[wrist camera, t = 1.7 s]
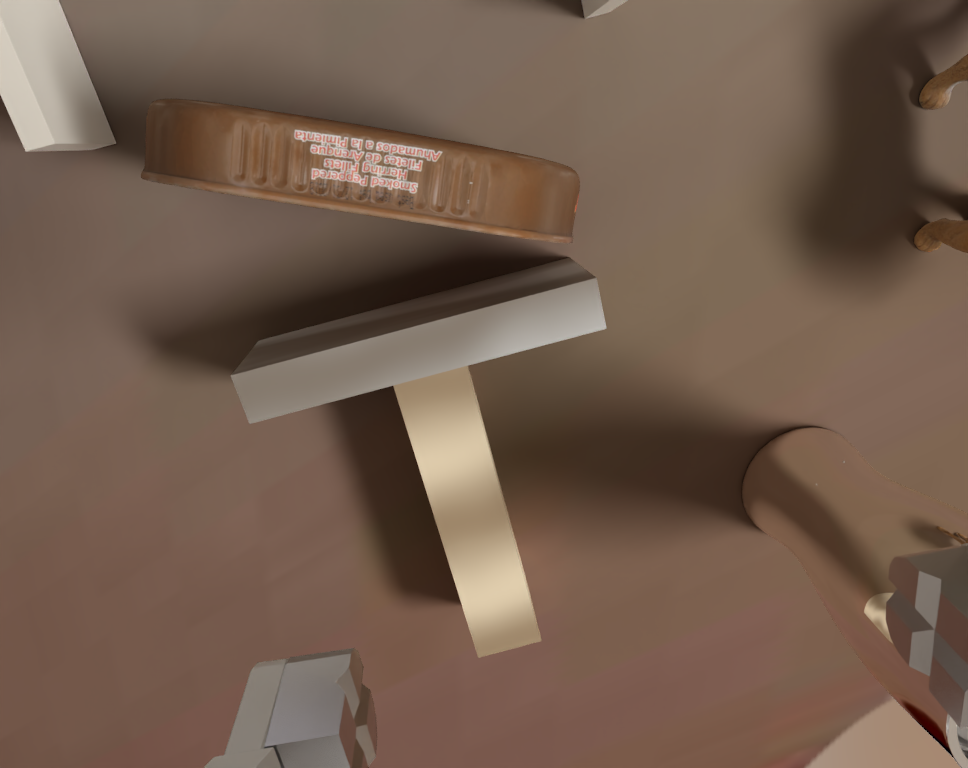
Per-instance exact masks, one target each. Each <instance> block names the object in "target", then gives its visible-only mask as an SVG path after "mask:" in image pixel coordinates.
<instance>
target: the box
mask: <svg viewBox="0 0 968 768" xmlns="http://www.w3.org/2000/svg"><path fill="white" fill-rule="evenodd" d="M581 1H582V7H583V12H584V18H585V19H587V18H590V17H594V16H598V15H602V14H605V13H609V12H611V11H612V10H614V9H615V8H617V7H618V6H620V5H621V4H623V3H624V2H625V1H627V0H581ZM0 95H1V97H2V100H3V102H4V104H5V106H6V109H7V111H8V113H9V115H10V117H11V120H12V122H13V124H14V126H15V129H16V131H17V133H18V135H19V138H20V140H21V142H22V144H23V146H24V149H25V151H71V150H94V149H98V148H101V147H105V146H109V145H113V144H116V141H115V138H114V136H113V133H112V131H111V128H110V126H109V123H108V121H107V119H106V116H105V114H104V111H103V109H102V106H101V104H100V101H99V99H98V96H97V94H96V91H95V89H94V86H93V84H92V81H91V79H90V77H89V74H88V72H87V69H86V67H85V64H84V62H83V59H82V57H81V54H80V52H79V49H78V47H77V44H76V42H75V39H74V37H73V35H72V32H71V30H70V27H69V25H68V22H67V20H66V17H65V15H64V12H63V10H62V7H61V5H60V2H59V0H0Z"/></svg>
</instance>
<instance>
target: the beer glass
mask: <svg viewBox="0 0 968 768" xmlns="http://www.w3.org/2000/svg"><path fill="white" fill-rule="evenodd" d="M742 499H743V504H744V507H745V510H746V512H747V514H748V516H749V518H750V519H751V520H752V522H753V523H754V524H755V525H756V526H757V527H758V528H759V529H760V530H762V531H763V532H764V533H766V534H767V535H769V536H770V537H772V538H773V539H775V540H776V541H778V542H779V543H781V544H782V545H784V546H785V547H786V548H788V549H789V550H790V551H791V552H792V553H793V554H794V556H795V557H796V558H797V559H798V561H799V562H800V564H801V565H802V567H803V569H804V570H805V572H806V573H807V575H808V577H809V579H810V581H811V582H812V584H813V586H814V588H815V590H816V591H817V593H818V595H819V597H820V599H821V600H822V602H823V604H824V606H825V607H826V609H827V611H828V613H829V614H830V616H831V618H832V620H833V621H834V623H835V624H836V626H837V627H838V629H839V631H840V632H841V634H842V635H843V637H844V638H845V640H846V641H847V643H848V644H849V646H850V647H851V649H852V650H853V651H854V653H855V654H856V655H857V656H858V658H859V659H860V660H861V661H862V663H863V664H864V665H865V666H866V668H867V669H868V670H869V671H870V673H871V674H872V675H873V676H874V677H875V679H876V680H877V681H878V682H879V683H880V684H881V685H882V686H883V687H884V688H885V689H886V691H887V692H888V693H889V694H890V695H891V696H892V697H893V698H894V699H895V700H896V701H897V702H898V704H899V705H900V706H901V707H902V708H903V709H904V710H905V711H906V712H907V713H908V714H909V715H910V716H911V717H912V718H913V719H914V720H915V721H916V722H917V723H918V724H919V725H920V726H921V727H922V728H923V729H924V730H925V731H927V732H928V733H929V734H930V735H931V736H932V737H933V738H934V739H935V740H936V741H937V742H938V743H939V744H940V745H941V746H942V747H943V748H944V749H945V750H946V751H947V752H948V753H949V754H950V755H951V756H952V757H953V758H954V759H955V761H956V762H957V763H958V765H959V766H960V767H961V768H968V727H964V728H960V727H959V726H958V725H957V724H956V723H955V721H954V720H953V719H952V718H951V717H950V715H949V714H948V713H947V712H946V711H945V709H944V708H943V707H942V706H941V705H940V703H939V702H938V701H937V700H936V698H935V697H934V696H933V695H932V694H931V692H930V691H929V676H928V675H926V674H924V673H922V672H920V671H918V670H916V669H914V668H912V667H910V666H908V664H907V663H906V662H905V661H904V659H903V658H902V657H901V655H900V654H899V653H898V651H897V649H896V648H895V646H894V644H893V642H892V640H891V638H890V634H889V631H888V627H887V624H886V602H887V601H888V600H889V598H890V597H891V596H892V595H893V593H894V592H895V591H896V590H897V588H896V587H895V585H894V584H893V583H892V582H891V581H890V580H889V579H888V577H889V567H890V564H891V562H892V560H893V558H894V557H895V556H901V555H906V554H912V553H917V552H923V551H929V550H934V549H940V548H946V547H951V546H960V545H961V544H965V543H968V513H966V512H964V511H962V510H960V509H958V508H956V507H953V506H951V505H949V504H946V503H944V502H942V501H939V500H937V499H935V498H932V497H930V496H928V495H925V494H923V493H920V492H918V491H915V490H913V489H911V488H908V487H906V486H903V485H901V484H899V483H897V482H895V481H892V480H890V479H888V478H887V477H885V476H883V475H882V474H880V473H879V472H877V471H876V470H875V469H873V468H872V467H871V466H870V465H869V464H868V462H867V461H866V460H865V459H864V458H863V456H862V455H861V454H860V453H859V452H858V450H857V449H856V448H855V447H854V446H853V445H852V444H851V443H850V442H849V441H848V440H847V439H845V438H844V437H843V436H841V435H839V434H838V433H836V432H833V431H831V430H827V429H823V428H817V427H807V428H799V429H795V430H792V431H789V432H786V433H784V434H782V435H780V436H778V437H776V438H775V439H773V440H772V441H770V442H769V443H768V444H766V445H765V446H764V447H763V448H762V449H761V450H760V451H759V452H758V453H757V455H756V456H755V457H754V458H753V460H752V462H751V463H750V465H749V467H748V469H747V471H746V474H745V476H744V480H743V485H742Z"/></svg>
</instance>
